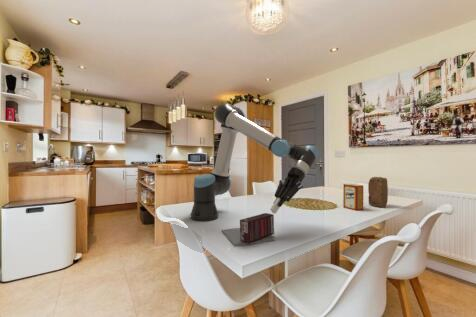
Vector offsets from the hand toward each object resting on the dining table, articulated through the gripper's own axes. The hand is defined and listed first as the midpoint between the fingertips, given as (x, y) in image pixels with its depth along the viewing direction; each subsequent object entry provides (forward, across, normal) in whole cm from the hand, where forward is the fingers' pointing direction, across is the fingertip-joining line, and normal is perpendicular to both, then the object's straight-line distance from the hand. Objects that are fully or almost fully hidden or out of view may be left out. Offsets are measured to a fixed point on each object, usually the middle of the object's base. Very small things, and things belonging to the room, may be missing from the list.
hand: (272, 211), depth 95 cm
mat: (+14, +5, 0) cm, 15 cm away
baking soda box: (-47, +4, -61) cm, 78 cm away
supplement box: (+4, 0, -3) cm, 5 cm away
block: (-62, -2, -76) cm, 99 cm away
